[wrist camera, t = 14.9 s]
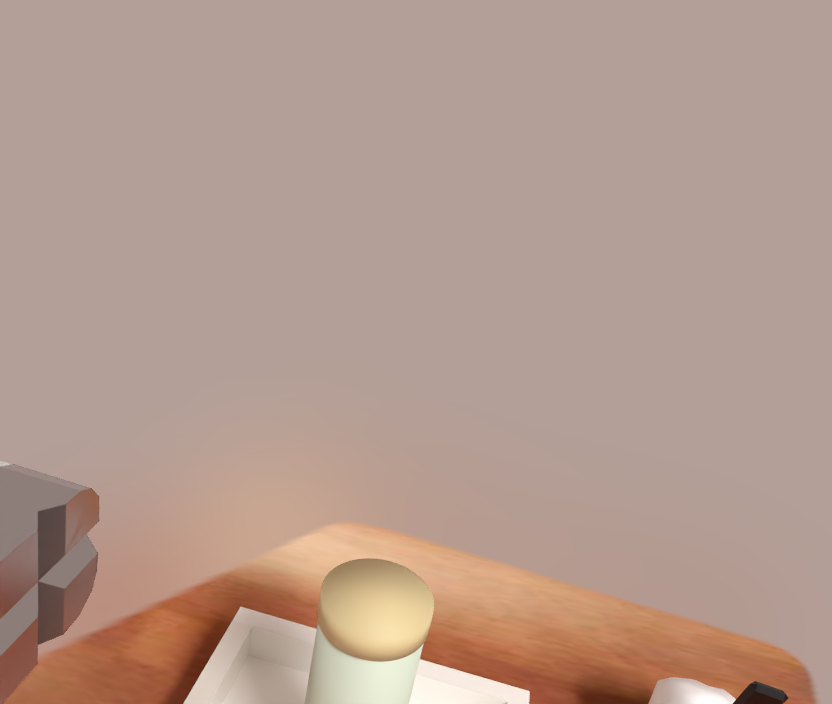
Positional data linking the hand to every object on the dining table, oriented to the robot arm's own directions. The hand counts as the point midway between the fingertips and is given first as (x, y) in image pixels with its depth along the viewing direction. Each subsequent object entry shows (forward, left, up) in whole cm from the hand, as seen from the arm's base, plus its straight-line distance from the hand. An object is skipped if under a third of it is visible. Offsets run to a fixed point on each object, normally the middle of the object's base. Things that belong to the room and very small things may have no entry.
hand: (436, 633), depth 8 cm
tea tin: (-2, +19, -29) cm, 35 cm away
